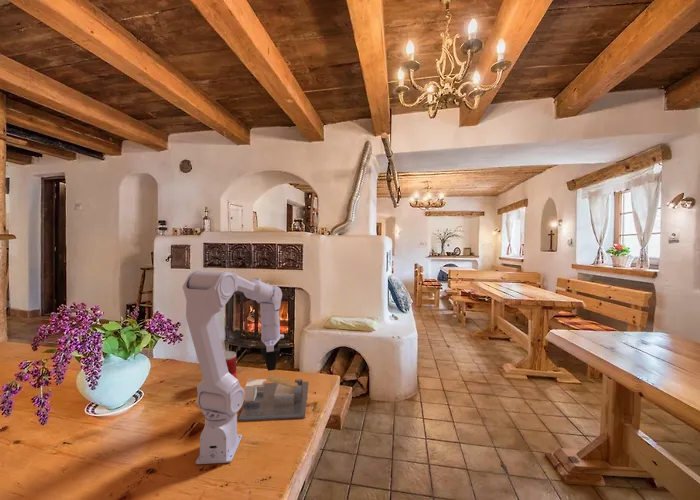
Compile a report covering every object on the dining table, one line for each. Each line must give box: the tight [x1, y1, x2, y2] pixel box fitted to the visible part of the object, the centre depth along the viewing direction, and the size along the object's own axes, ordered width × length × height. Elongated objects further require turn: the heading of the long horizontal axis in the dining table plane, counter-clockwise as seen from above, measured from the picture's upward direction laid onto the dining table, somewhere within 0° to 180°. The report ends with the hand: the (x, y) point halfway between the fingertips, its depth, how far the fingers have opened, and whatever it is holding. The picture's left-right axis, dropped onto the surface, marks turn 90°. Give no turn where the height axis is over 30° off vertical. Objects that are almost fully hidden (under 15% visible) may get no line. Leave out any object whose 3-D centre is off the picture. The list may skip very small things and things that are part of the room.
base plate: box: [238, 378, 309, 422], centre depth 94 cm, size 20×19×6 cm
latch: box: [244, 378, 267, 402], centre depth 93 cm, size 5×5×5 cm
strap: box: [266, 373, 300, 389], centre depth 94 cm, size 3×10×1 cm, turn 95°
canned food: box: [223, 350, 237, 379], centre depth 105 cm, size 8×8×11 cm
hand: (272, 364), depth 94 cm, fingers open, 7 cm apart
